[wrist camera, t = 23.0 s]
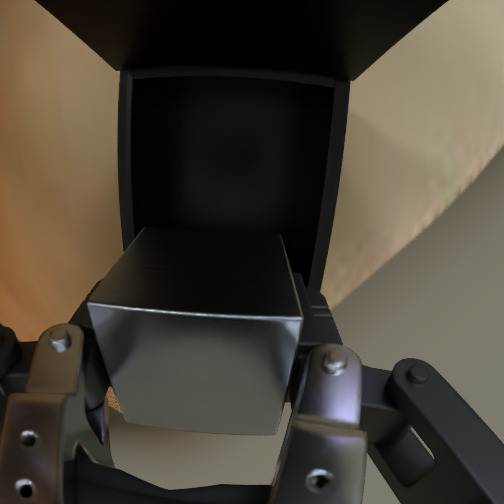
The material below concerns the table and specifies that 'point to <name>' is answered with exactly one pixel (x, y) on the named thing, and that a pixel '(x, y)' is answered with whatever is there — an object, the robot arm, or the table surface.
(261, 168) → the black open box
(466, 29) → the table surface
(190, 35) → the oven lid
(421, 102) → the table surface
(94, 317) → the steel block
